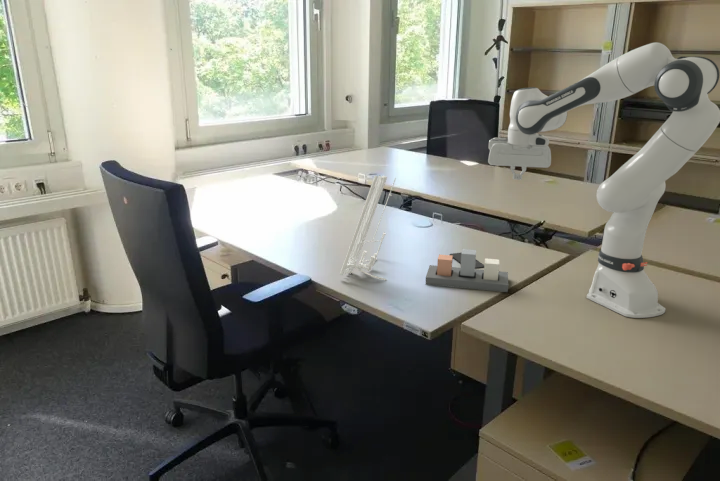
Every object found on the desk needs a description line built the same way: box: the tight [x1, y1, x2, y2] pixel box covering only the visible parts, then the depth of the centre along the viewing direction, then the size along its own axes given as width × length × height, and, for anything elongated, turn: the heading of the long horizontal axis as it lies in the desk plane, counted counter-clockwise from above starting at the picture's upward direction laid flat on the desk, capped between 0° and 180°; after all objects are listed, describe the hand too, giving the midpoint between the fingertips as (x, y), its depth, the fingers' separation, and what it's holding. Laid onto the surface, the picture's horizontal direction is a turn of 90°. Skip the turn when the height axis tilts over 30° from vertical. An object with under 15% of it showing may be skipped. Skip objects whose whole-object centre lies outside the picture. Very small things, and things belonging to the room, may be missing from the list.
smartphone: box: [449, 251, 485, 269], centre depth 194 cm, size 7×1×15 cm
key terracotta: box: [436, 254, 454, 276], centre depth 176 cm, size 4×4×8 cm
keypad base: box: [425, 264, 509, 293], centre depth 175 cm, size 26×11×2 cm, turn 76°
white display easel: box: [339, 175, 397, 281], centre depth 180 cm, size 24×14×35 cm, turn 148°
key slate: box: [459, 248, 477, 276], centre depth 174 cm, size 4×4×8 cm
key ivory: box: [483, 257, 500, 281], centre depth 173 cm, size 4×4×8 cm
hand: (517, 179), depth 180 cm, fingers closed
